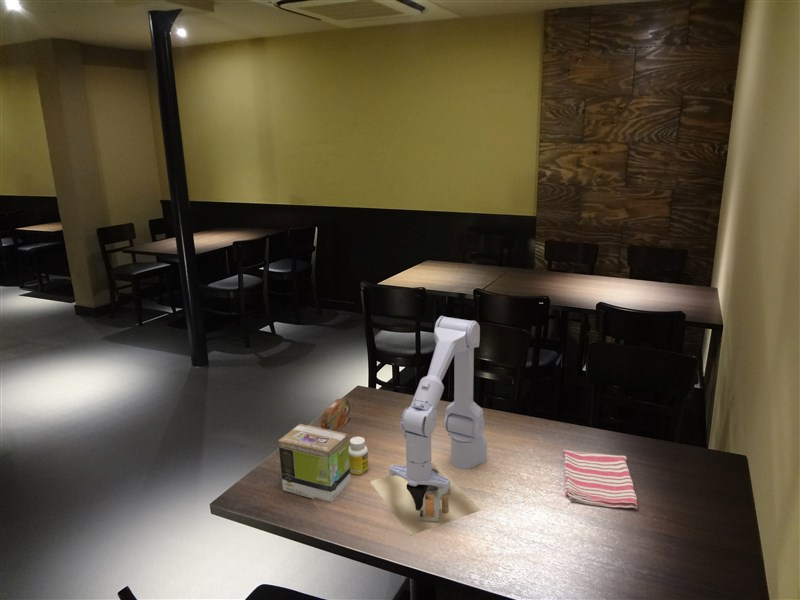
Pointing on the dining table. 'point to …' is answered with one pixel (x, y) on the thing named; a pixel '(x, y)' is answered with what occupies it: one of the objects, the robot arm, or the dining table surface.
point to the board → (405, 511)
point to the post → (431, 487)
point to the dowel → (445, 503)
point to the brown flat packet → (336, 415)
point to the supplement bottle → (358, 456)
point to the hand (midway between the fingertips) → (419, 507)
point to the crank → (432, 505)
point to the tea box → (314, 462)
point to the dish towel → (598, 480)
